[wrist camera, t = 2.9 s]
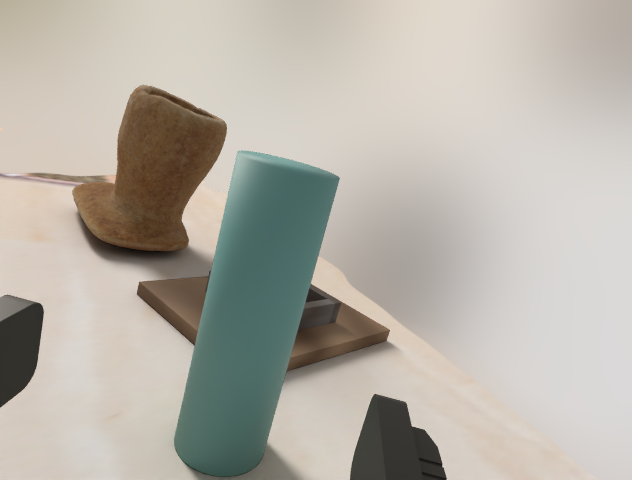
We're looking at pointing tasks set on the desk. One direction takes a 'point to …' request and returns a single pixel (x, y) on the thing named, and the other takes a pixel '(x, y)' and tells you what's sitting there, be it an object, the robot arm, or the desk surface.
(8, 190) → the desk surface
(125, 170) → the brown hollow flared cylinder
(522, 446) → the desk surface
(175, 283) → the walnut base board
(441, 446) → the desk surface
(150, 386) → the desk surface
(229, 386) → the teal pillar
